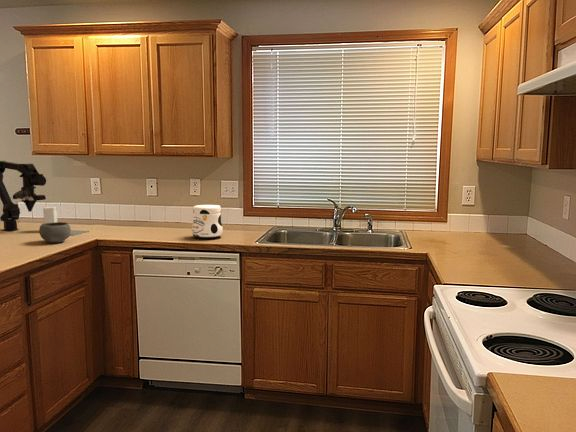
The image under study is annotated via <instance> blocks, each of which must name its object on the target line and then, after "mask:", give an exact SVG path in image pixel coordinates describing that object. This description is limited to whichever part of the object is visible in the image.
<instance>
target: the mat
mask: <svg viewBox="0 0 576 432" xmlns="http://www.w3.org/2000/svg"><path fill="white" fill-rule="evenodd" d="M70 230H71V231H70V235H69V236H77V235H81V234H85V233H89V230H77V229H70Z"/></svg>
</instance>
